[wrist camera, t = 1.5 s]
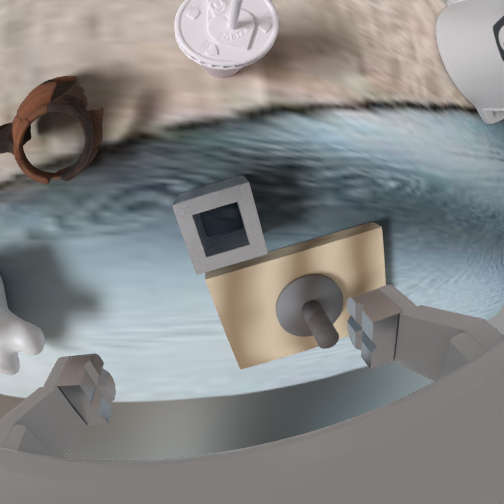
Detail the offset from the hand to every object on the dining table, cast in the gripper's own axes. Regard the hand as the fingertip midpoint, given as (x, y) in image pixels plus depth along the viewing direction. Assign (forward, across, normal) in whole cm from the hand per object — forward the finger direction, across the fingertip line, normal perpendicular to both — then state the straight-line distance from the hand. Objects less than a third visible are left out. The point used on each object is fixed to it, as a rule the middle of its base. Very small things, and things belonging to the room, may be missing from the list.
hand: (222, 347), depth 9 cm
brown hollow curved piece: (+21, +13, -12) cm, 27 cm away
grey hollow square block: (+20, -1, +1) cm, 20 cm away
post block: (+20, -8, +11) cm, 24 cm away
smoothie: (+20, -4, -14) cm, 24 cm away
